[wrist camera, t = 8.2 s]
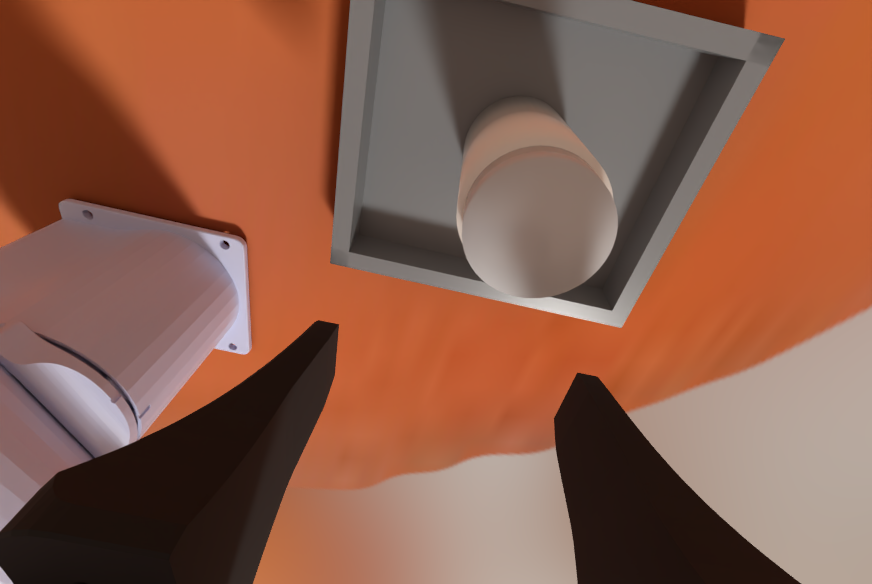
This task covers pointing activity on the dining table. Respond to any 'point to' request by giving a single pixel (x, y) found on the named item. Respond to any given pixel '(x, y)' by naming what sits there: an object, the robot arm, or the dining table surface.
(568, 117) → the tray
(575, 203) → the shaker
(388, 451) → the dining table surface
